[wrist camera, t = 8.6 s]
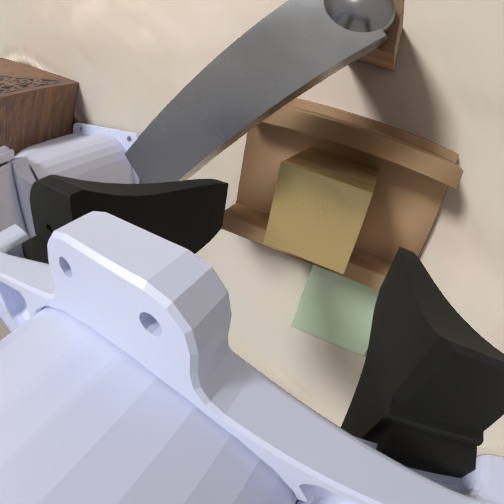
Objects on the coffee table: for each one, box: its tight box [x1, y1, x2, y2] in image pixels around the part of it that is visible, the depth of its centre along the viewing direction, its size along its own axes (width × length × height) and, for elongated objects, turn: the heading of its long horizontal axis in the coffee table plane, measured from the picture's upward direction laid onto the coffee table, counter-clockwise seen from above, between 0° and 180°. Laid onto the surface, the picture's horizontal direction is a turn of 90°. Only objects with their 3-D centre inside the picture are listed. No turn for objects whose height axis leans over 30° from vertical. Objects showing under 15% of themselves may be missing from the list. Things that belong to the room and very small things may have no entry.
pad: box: [292, 265, 379, 356], centre depth 21 cm, size 6×6×1 cm
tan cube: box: [264, 147, 379, 274], centre depth 15 cm, size 4×4×5 cm
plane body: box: [221, 0, 463, 291], centre depth 14 cm, size 12×15×6 cm
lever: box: [125, 0, 395, 184], centre depth 11 cm, size 3×14×1 cm, turn 127°
